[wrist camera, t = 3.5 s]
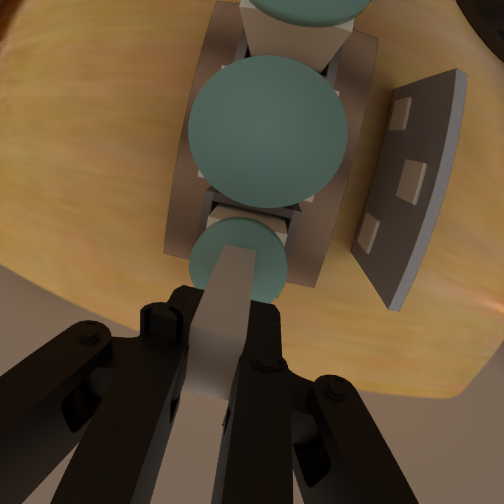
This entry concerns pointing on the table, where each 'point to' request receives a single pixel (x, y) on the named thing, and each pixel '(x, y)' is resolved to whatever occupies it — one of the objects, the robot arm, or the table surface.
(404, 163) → the placard
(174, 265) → the table surface
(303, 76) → the plunger mid
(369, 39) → the console
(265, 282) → the plunger
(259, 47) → the plunger
